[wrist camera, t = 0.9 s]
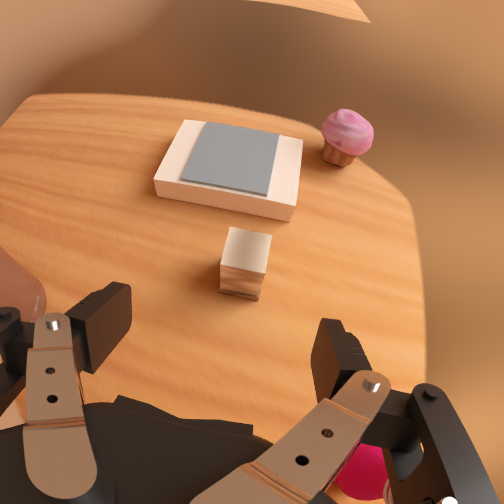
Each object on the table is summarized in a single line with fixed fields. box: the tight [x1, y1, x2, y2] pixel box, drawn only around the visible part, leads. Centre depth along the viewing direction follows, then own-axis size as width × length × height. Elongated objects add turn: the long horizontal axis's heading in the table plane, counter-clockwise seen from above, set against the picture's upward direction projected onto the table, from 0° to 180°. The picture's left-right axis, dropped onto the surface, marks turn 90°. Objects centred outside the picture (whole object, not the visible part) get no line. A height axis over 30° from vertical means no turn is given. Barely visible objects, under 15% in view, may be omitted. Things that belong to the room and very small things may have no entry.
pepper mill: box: [334, 443, 394, 504], centre depth 19 cm, size 7×7×20 cm
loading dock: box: [153, 120, 303, 222], centre depth 44 cm, size 20×14×4 cm
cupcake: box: [322, 109, 374, 167], centre depth 46 cm, size 9×9×10 cm
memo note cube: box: [218, 227, 272, 301], centre depth 35 cm, size 5×5×8 cm
